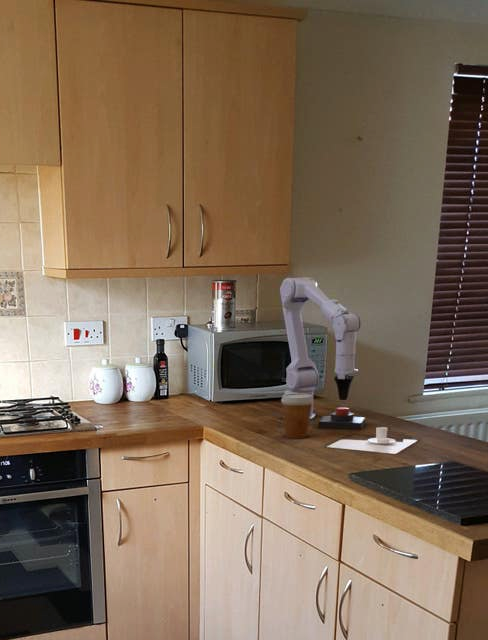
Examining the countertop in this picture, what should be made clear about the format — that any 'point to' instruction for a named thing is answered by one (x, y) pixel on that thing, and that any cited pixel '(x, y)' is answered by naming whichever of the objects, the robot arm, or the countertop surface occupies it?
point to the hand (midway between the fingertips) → (343, 399)
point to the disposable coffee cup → (296, 414)
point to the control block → (342, 422)
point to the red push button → (342, 411)
